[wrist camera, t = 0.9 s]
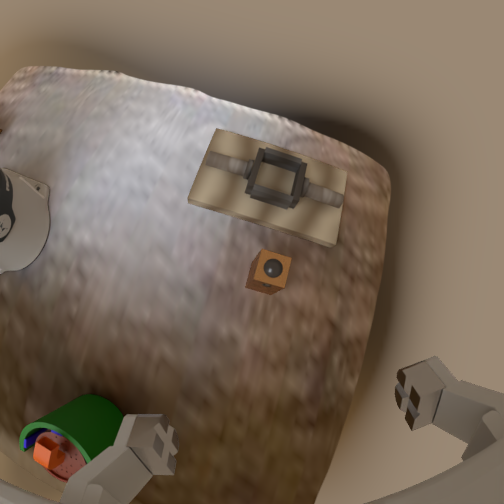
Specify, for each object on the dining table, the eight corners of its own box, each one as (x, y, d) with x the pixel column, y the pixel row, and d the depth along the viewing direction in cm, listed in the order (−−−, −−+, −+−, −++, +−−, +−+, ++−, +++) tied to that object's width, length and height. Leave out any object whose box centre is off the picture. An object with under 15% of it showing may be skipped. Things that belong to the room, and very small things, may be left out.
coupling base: (188, 203, 46) (186, 189, 42) (215, 135, 50) (217, 117, 45) (331, 247, 48) (344, 239, 43) (342, 177, 52) (354, 163, 47)
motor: (68, 434, 34) (4, 480, 15) (71, 385, 36) (-3, 413, 17) (125, 454, 35) (85, 520, 16) (130, 405, 37) (82, 455, 18)
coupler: (244, 288, 45) (253, 279, 37) (252, 261, 46) (262, 247, 38) (270, 295, 45) (284, 288, 37) (277, 269, 46) (292, 256, 38)
